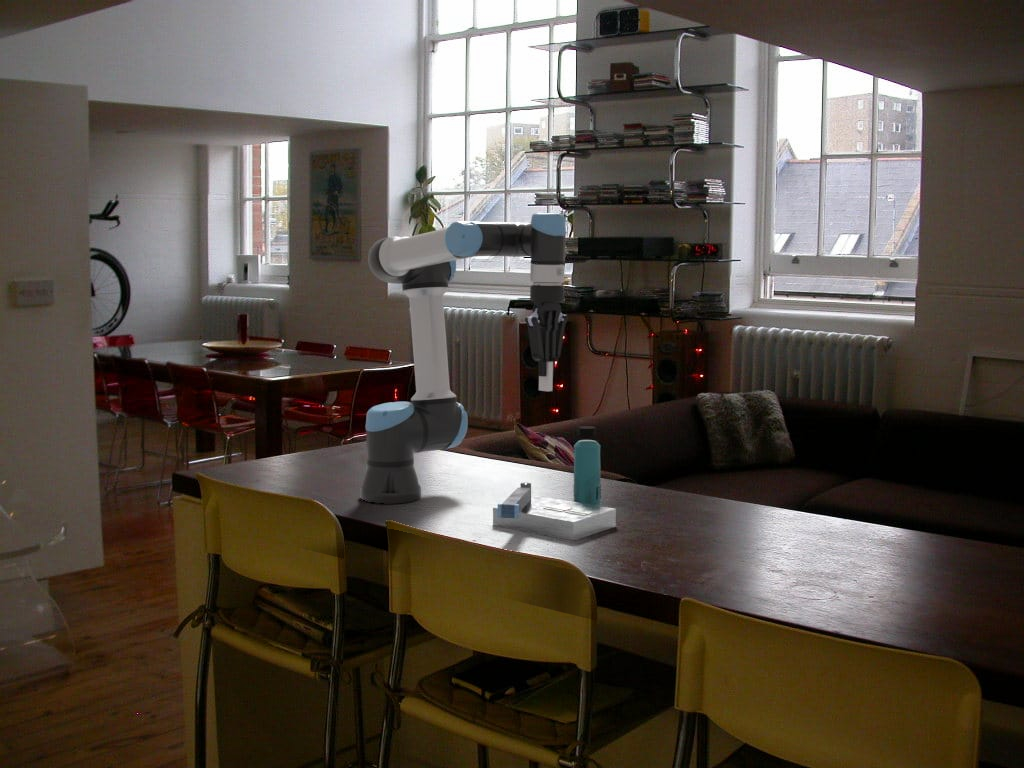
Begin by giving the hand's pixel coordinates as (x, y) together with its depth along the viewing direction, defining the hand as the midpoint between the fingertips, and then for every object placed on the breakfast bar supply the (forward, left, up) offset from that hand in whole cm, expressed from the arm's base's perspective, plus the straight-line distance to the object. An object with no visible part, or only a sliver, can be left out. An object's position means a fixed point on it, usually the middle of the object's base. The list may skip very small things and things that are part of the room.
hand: (545, 390), depth 244 cm
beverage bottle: (+1, +15, -30) cm, 34 cm away
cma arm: (+1, -12, -25) cm, 27 cm away
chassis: (+4, -2, -30) cm, 30 cm away
